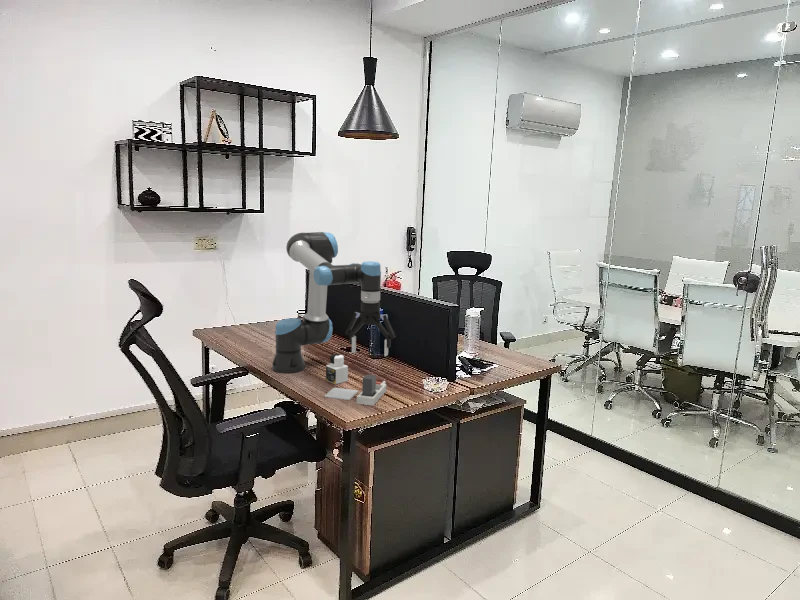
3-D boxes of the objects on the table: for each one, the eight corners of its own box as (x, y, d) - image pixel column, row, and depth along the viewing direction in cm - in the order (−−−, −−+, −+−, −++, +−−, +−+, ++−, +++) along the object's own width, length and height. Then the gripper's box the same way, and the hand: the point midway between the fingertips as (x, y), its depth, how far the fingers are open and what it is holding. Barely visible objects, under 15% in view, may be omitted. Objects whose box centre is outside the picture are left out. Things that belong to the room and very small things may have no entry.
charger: (366, 397, 229) (366, 374, 227) (375, 398, 228) (375, 375, 226) (362, 402, 224) (362, 378, 222) (371, 403, 223) (372, 379, 221)
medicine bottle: (325, 380, 248) (325, 354, 246) (338, 377, 253) (338, 351, 251) (335, 384, 243) (335, 358, 241) (348, 381, 248) (348, 355, 246)
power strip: (377, 382, 248) (377, 374, 247) (392, 384, 246) (392, 376, 245) (356, 403, 222) (356, 394, 221) (373, 405, 220) (373, 396, 220)
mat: (334, 388, 239) (334, 387, 239) (358, 391, 236) (358, 390, 236) (324, 397, 228) (324, 396, 228) (349, 400, 226) (349, 399, 225)
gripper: (337, 300, 218) (337, 353, 222) (398, 305, 212) (397, 359, 215) (344, 297, 225) (343, 348, 229) (403, 301, 219) (402, 354, 223)
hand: (369, 353), depth 222 cm, fingers open, 13 cm apart
